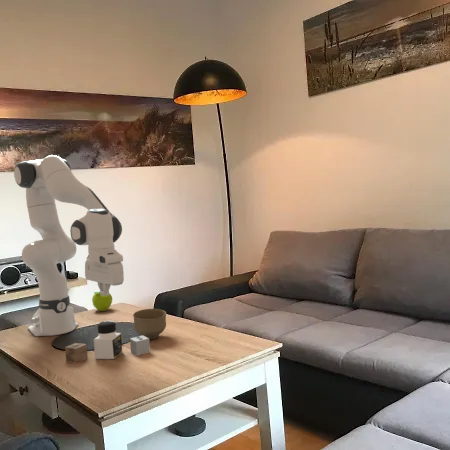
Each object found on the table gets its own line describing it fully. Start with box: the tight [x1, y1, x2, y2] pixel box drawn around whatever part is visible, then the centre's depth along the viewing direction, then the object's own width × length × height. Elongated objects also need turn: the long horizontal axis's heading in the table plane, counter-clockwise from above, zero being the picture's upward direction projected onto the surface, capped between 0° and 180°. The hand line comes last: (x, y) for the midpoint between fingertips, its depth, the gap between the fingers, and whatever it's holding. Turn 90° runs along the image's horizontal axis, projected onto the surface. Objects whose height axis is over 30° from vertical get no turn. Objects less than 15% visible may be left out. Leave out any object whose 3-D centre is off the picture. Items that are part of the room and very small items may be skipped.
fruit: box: [91, 291, 113, 312], centre depth 238 cm, size 9×9×10 cm
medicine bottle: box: [93, 320, 123, 360], centre depth 172 cm, size 7×7×12 cm
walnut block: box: [64, 342, 89, 364], centre depth 170 cm, size 5×5×5 cm
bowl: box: [132, 308, 167, 340], centre depth 189 cm, size 13×13×10 cm
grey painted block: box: [129, 335, 151, 356], centre depth 174 cm, size 5×5×5 cm
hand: (104, 295), depth 171 cm, fingers closed
